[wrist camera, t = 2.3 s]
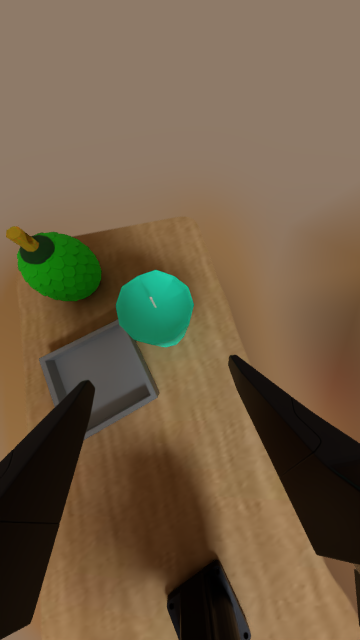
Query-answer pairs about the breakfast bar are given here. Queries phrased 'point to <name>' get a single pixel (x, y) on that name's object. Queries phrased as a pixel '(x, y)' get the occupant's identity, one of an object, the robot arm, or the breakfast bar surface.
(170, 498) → the breakfast bar surface
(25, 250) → the ornament
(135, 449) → the breakfast bar surface
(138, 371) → the tray
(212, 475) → the breakfast bar surface
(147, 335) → the candle
